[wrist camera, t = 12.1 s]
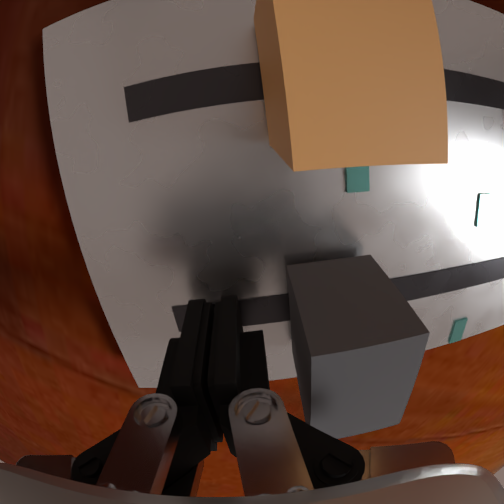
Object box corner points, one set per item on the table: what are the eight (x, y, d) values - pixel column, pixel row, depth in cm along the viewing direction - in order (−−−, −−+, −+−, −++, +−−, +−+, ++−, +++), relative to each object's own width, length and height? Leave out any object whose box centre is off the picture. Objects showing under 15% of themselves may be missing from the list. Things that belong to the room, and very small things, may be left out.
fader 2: (370, 254, 11) (429, 332, 7) (362, 340, 12) (399, 423, 8) (286, 265, 11) (311, 356, 7) (292, 352, 12) (309, 443, 8)
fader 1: (351, 17, 7) (423, -31, 3) (365, 138, 9) (447, 163, 5) (253, 18, 7) (264, -50, 3) (269, 144, 9) (293, 171, 5)
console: (557, 55, 8) (581, 57, 6) (538, 288, 15) (555, 303, 13) (68, 37, 9) (40, 28, 7) (147, 360, 15) (138, 389, 14)
